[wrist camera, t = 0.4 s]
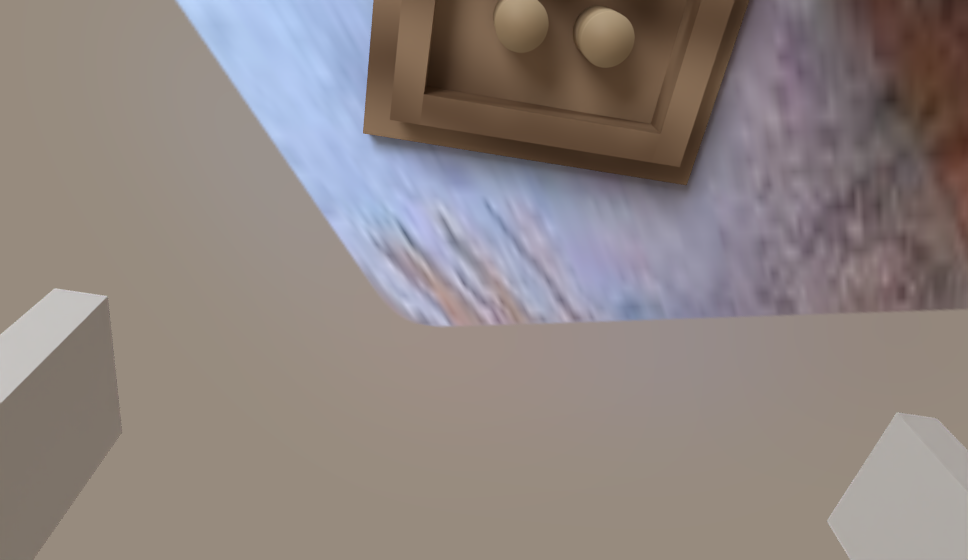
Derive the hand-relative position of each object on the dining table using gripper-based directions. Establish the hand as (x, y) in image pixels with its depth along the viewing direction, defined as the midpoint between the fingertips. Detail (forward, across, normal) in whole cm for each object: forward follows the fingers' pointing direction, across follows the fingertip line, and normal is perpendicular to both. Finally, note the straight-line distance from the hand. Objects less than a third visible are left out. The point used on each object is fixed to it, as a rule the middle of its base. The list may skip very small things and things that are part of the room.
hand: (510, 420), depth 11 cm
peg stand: (+26, +3, +6) cm, 27 cm away
